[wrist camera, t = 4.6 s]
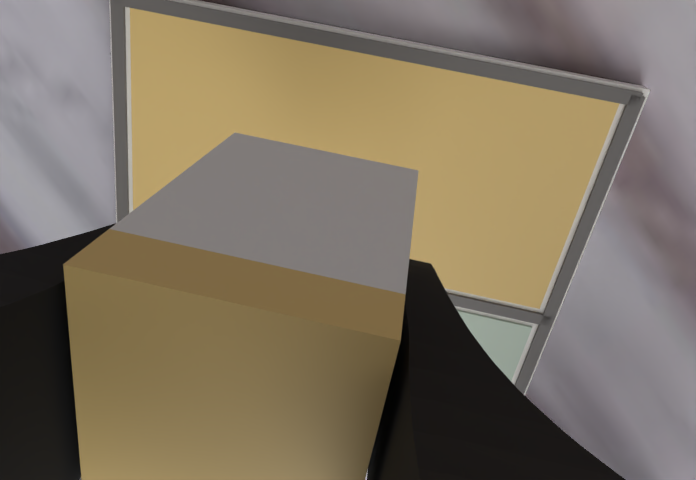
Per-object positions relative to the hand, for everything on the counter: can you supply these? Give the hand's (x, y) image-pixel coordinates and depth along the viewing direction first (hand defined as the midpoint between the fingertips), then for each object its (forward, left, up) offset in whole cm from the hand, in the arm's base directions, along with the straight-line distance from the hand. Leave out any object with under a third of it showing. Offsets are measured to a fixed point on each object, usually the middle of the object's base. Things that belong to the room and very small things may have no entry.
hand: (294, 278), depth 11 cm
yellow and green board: (-4, 0, -8) cm, 9 cm away
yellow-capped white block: (0, 0, -2) cm, 2 cm away
